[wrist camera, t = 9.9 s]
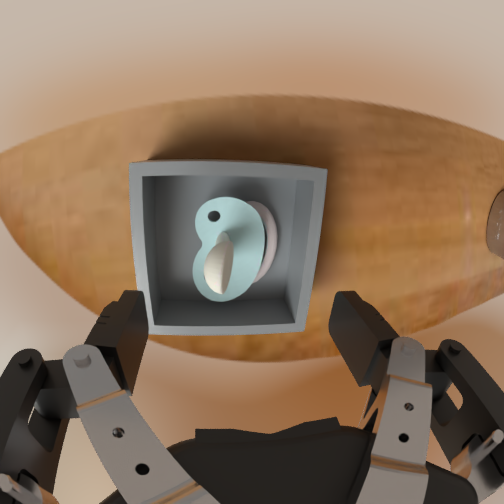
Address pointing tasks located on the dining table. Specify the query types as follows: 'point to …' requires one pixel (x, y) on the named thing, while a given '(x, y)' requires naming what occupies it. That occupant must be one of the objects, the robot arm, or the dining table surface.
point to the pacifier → (233, 247)
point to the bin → (188, 243)
